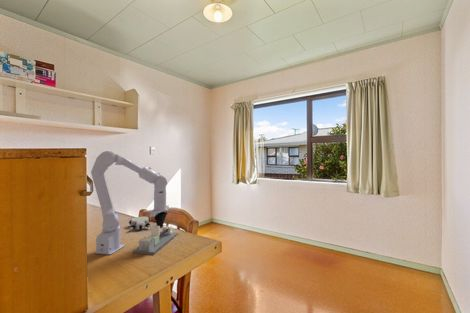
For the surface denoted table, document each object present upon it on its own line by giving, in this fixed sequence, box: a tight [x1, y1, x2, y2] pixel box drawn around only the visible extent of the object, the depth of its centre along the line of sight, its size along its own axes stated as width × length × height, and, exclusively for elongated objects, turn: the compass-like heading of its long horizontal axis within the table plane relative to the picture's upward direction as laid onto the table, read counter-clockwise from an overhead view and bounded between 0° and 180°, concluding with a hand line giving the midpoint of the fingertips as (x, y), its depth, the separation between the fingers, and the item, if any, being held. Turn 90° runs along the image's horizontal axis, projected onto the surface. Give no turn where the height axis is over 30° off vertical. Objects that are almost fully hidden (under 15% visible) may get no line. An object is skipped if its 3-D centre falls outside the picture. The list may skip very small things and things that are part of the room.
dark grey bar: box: [159, 227, 168, 237], centre depth 107 cm, size 20×1×1 cm, turn 170°
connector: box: [138, 236, 154, 251], centre depth 99 cm, size 5×5×4 cm
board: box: [132, 225, 179, 255], centre depth 108 cm, size 24×10×5 cm, turn 170°
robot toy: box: [128, 216, 152, 231], centre depth 131 cm, size 12×4×15 cm
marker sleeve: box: [147, 225, 161, 245], centre depth 104 cm, size 5×4×7 cm
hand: (160, 227), depth 110 cm, fingers closed
